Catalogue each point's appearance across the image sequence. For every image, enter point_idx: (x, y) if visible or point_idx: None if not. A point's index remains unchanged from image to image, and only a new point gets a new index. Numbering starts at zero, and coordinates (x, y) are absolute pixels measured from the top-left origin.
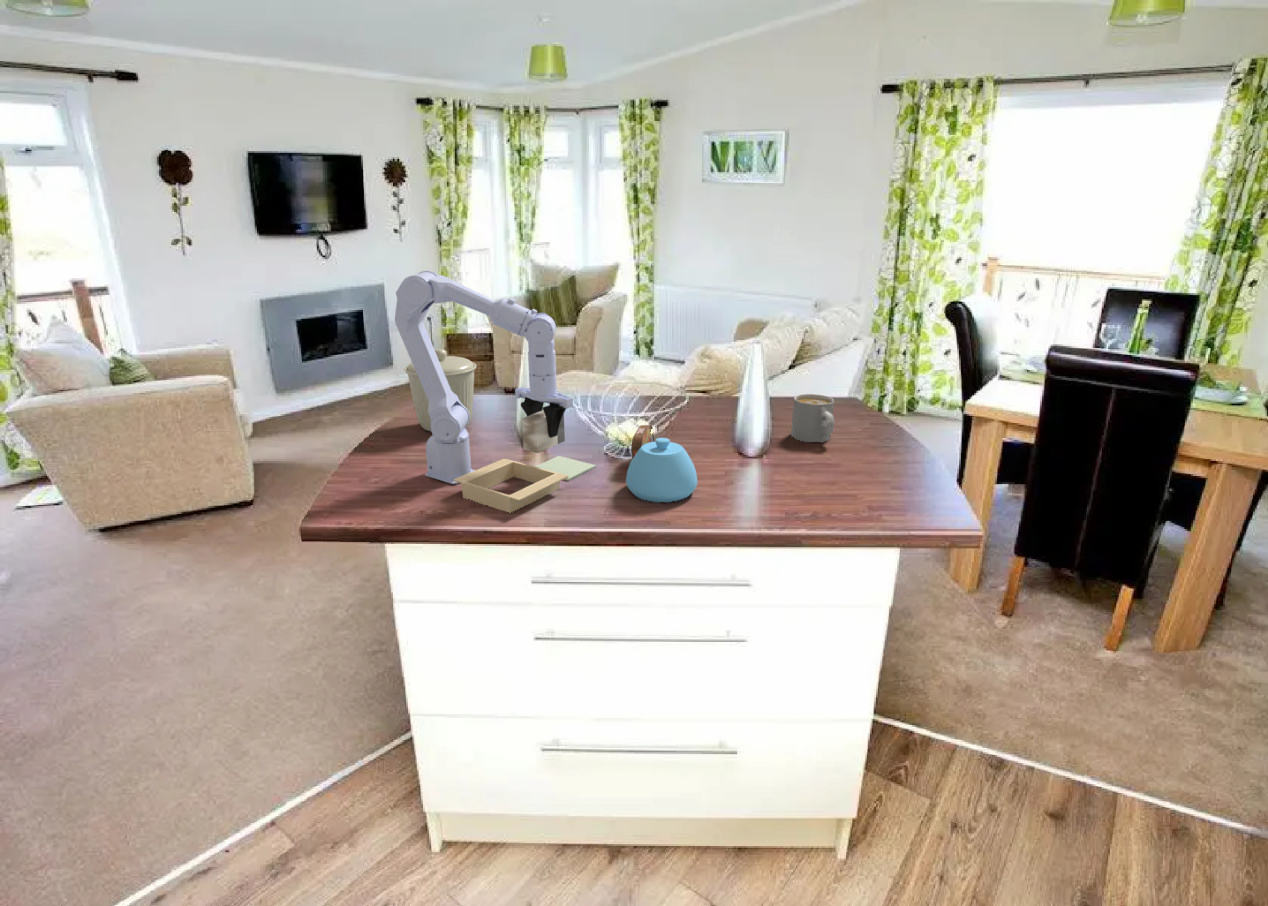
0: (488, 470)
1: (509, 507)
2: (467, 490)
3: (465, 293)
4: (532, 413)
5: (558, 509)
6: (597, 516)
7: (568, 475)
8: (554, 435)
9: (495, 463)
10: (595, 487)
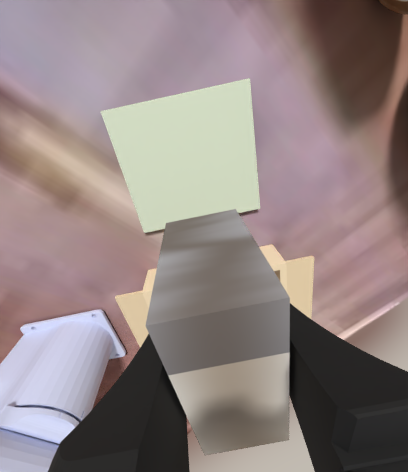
0: None
1: None
2: None
3: None
4: (183, 423)
5: (328, 292)
6: (400, 266)
7: (244, 195)
8: None
9: (134, 323)
10: (331, 186)
